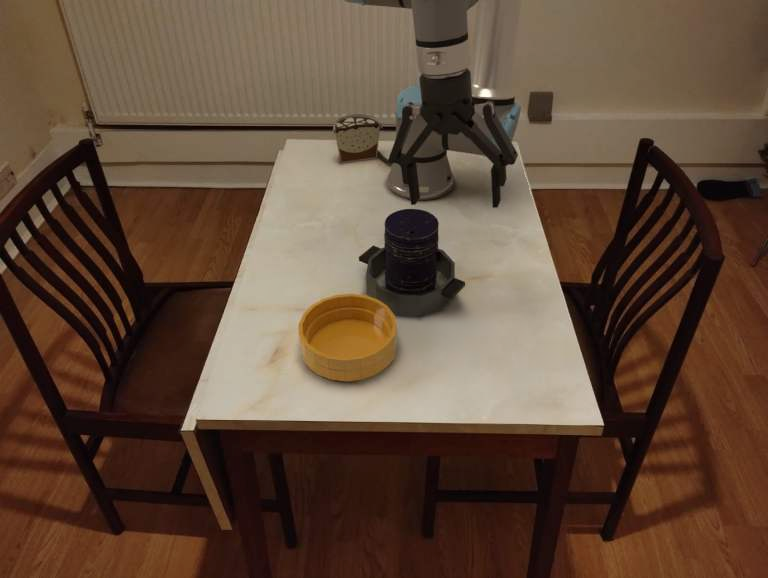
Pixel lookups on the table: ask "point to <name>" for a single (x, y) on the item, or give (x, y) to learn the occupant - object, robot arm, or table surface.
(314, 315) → the bowl
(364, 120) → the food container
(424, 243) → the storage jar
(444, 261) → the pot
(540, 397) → the table surface
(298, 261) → the table surface
